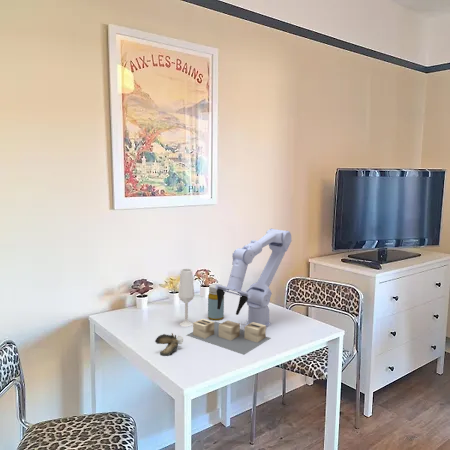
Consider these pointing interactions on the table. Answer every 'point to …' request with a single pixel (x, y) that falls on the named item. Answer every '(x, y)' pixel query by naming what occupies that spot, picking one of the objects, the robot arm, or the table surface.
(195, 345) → the table surface
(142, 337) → the table surface
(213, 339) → the charcoal rubber mat
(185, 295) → the champagne flute
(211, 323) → the two-bar birch block
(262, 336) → the one-bar birch block
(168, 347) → the eagle figurine
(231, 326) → the plain birch block
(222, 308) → the bottle
